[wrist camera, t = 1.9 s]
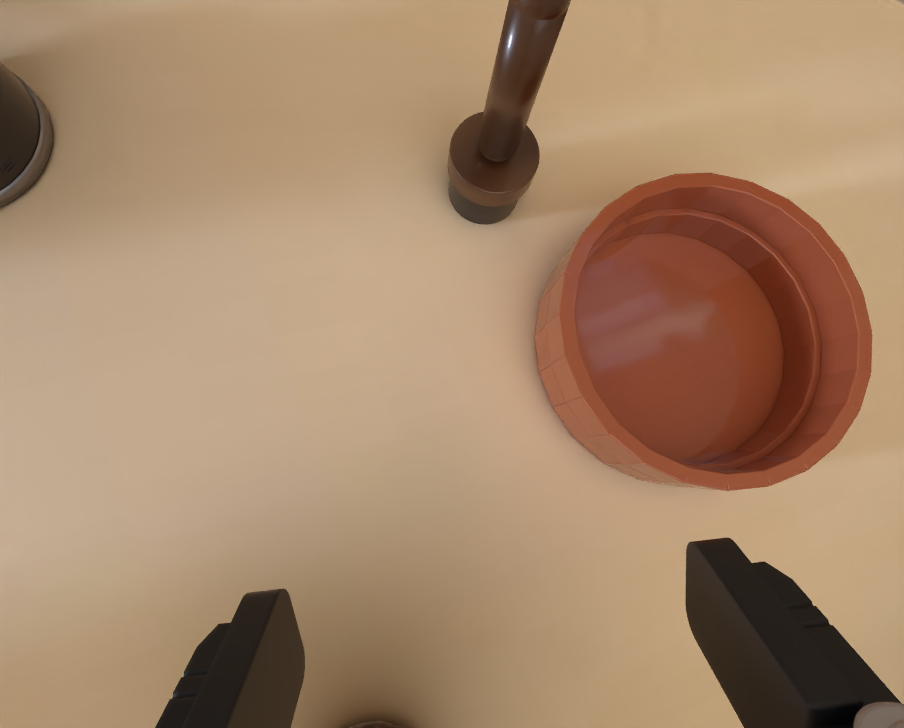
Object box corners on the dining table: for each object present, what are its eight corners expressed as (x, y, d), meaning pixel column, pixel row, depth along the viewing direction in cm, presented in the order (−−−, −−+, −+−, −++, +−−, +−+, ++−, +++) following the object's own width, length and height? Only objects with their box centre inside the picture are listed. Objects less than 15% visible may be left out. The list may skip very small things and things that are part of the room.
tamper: (428, 180, 34) (448, -56, 19) (492, 142, 35) (562, -115, 20) (474, 243, 34) (534, 54, 18) (537, 203, 35) (647, -11, 19)
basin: (478, 311, 33) (494, 278, 27) (681, 176, 36) (735, 120, 30) (645, 542, 32) (700, 560, 26) (843, 381, 34) (934, 365, 29)
